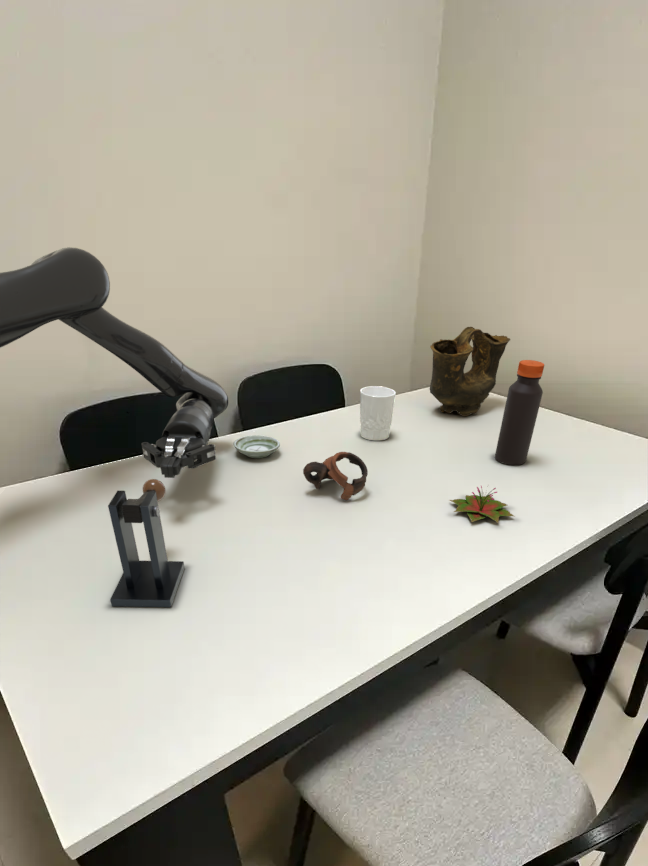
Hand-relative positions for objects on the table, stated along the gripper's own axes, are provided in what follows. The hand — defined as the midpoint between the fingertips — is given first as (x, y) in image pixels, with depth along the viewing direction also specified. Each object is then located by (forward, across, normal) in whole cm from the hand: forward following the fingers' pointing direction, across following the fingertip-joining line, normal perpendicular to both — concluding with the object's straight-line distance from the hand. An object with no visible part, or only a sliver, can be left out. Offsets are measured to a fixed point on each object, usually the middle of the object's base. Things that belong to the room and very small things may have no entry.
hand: (168, 472), depth 93 cm
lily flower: (-7, +54, +9) cm, 55 cm away
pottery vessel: (-64, +61, +9) cm, 89 cm away
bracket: (+19, 0, +9) cm, 21 cm away
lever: (+14, 0, -1) cm, 14 cm away
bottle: (-32, +66, +9) cm, 74 cm away
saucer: (-31, +11, +9) cm, 34 cm away
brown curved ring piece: (-14, +27, +9) cm, 32 cm away
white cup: (-44, +37, +9) cm, 58 cm away
